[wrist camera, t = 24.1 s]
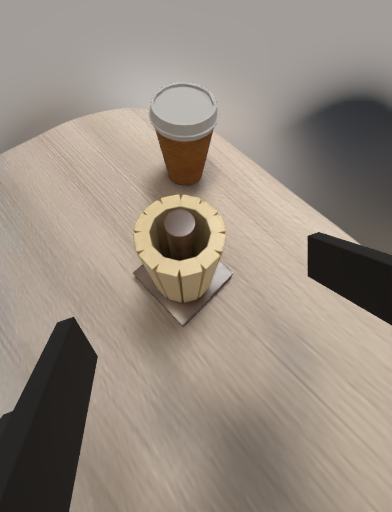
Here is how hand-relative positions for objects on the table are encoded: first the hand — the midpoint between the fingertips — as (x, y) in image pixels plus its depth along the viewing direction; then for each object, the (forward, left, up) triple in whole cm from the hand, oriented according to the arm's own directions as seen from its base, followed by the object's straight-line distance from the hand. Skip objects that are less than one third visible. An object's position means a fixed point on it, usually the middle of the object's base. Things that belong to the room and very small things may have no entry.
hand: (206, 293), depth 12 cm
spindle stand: (-6, +3, -18) cm, 20 cm away
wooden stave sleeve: (-6, +3, -17) cm, 18 cm away
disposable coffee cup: (-20, +17, -19) cm, 32 cm away
